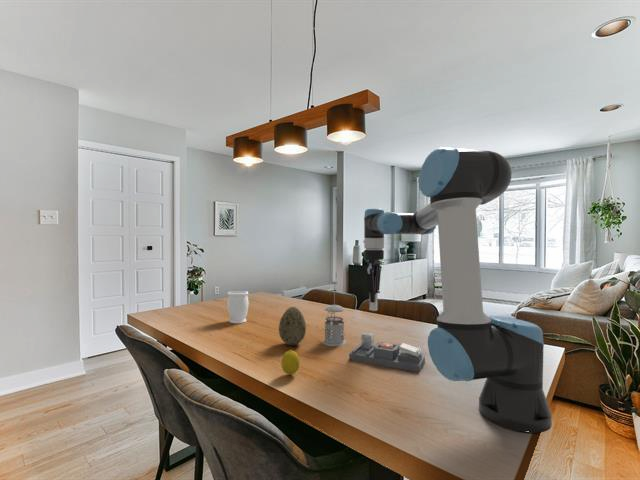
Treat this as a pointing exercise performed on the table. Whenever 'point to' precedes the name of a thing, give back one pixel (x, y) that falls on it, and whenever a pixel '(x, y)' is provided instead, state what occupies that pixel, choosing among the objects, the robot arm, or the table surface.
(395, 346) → the panel
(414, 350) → the rocker switch
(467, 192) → the robot arm
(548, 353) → the table surface
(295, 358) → the lemon
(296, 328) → the decorative egg
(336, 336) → the french press
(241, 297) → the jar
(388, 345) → the push button
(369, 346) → the slide switch
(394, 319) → the table surface
